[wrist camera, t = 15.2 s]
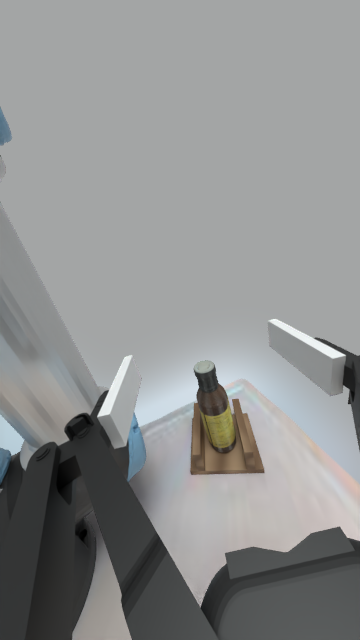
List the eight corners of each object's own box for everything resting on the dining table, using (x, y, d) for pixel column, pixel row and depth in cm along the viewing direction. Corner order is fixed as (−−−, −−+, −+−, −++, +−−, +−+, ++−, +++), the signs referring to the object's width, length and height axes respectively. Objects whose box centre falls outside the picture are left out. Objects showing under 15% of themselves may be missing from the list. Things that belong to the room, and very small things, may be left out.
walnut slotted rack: (191, 474, 34) (184, 455, 32) (193, 420, 45) (188, 403, 44) (264, 472, 32) (261, 451, 30) (247, 416, 43) (244, 398, 41)
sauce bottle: (242, 437, 37) (229, 363, 31) (225, 461, 34) (207, 383, 28) (219, 421, 42) (203, 353, 36) (202, 440, 39) (182, 369, 33)
